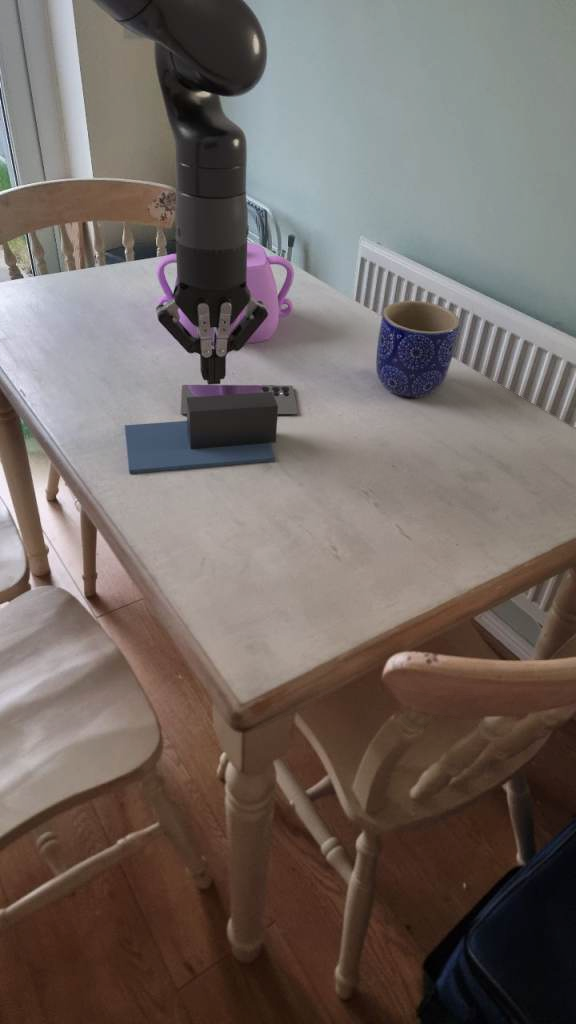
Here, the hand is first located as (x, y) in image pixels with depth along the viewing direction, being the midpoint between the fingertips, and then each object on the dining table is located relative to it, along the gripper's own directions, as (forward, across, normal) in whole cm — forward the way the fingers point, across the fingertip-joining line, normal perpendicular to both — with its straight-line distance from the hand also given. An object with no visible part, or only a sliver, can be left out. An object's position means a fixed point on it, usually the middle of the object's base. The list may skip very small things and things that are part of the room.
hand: (212, 381), depth 84 cm
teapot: (+9, -7, -33) cm, 35 cm away
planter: (+9, -31, -11) cm, 34 cm away
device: (+6, +3, 0) cm, 7 cm away
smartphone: (+9, -5, -10) cm, 15 cm away
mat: (+9, +2, 0) cm, 9 cm away
